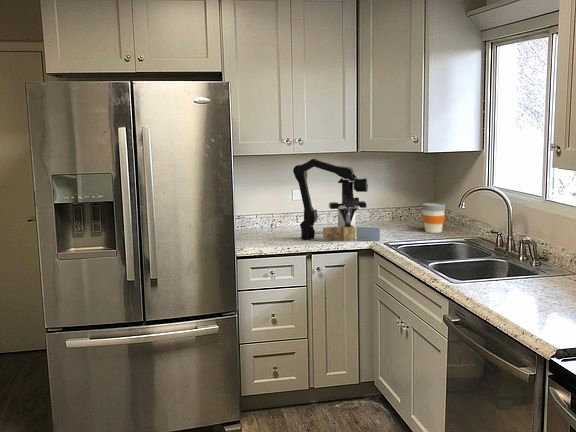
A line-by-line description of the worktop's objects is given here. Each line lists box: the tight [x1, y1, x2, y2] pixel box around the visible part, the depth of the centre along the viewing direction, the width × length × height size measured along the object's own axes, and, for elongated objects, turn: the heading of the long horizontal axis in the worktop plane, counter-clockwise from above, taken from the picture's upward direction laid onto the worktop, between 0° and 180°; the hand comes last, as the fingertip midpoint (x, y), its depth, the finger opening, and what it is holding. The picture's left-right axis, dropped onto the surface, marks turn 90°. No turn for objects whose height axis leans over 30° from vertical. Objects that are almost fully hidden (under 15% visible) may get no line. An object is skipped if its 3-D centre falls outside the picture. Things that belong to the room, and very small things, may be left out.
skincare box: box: [337, 207, 357, 228], centre depth 339 cm, size 8×7×16 cm
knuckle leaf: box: [322, 225, 356, 242], centre depth 322 cm, size 16×6×7 cm, turn 98°
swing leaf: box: [355, 226, 381, 241], centre depth 320 cm, size 12×1×7 cm, turn 73°
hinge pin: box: [344, 208, 351, 227], centre depth 322 cm, size 4×4×10 cm
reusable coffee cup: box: [421, 202, 446, 234], centre depth 341 cm, size 13×13×15 cm
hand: (347, 221), depth 322 cm, fingers closed on hinge pin, 3 cm apart
